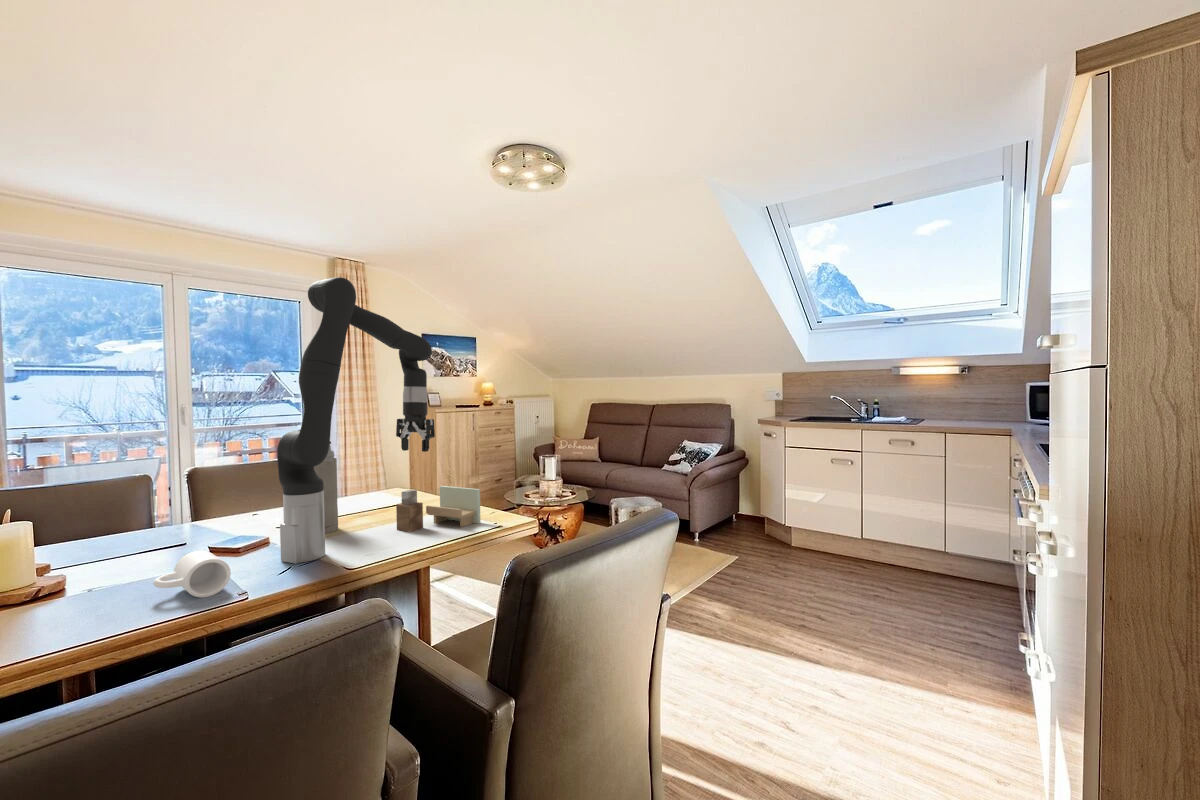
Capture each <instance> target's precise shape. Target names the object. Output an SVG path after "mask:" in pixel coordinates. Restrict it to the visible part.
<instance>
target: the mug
mask: <svg viewBox="0 0 1200 800" xmlns="http://www.w3.org/2000/svg"><path fill="white" fill-rule="evenodd" d="M231 573H232V572H231V568H230V566H229V564H228V563H227V562H226V561H224V560H223V559H221V558H219V556H216V554H214V553H211V552H210V551H207V550H195V551H194V550H193V551H192V552H189V553H187V554H185V555H184V556H182V557H181V558H180V559H179V560H178V561H177V563H176V564H175V566H174V569H173V571H172V572H169V573H165V574H163V575H160V576H159V577H156V578H155V579H154V580H153V586H154V587H155V588H158V589H169V588H177V587H181V588H183V589H184V590H185V591H186V592H187V593H188V594H189V595H191V596H192V597H195V598H209V597H212V596H215V595H217V594H218V593H220V592H221V591H222V590H224V589H225V588H226V586H227V585H228V584H229V581H230V579H231V575H232V574H231Z"/></svg>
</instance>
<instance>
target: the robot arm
mask: <svg viewBox="0 0 1200 800" xmlns="http://www.w3.org/2000/svg"><path fill="white" fill-rule="evenodd" d="M307 298H308V301H309V303H310V304H311V306H312V307H313V308H314V309H316V310H317V311H319V312H321V313H322V318H321V321H320V324H319V326H318V329H317V330H316V332H315V334H314V335H313V336H312V338H311V340H310V341H309V342H308V344H307V346H306V348H305V350H304V352H303V356H302V359H301V362H300V363H301V364H300V369H299V372H298V373H299V374H298V384H299V385H298V387H299V391H300V394H301V399H302V403H303V416H302V422H301V427H300V429H299V430H292V431H291V430H290V431H288V432H287V433H285V434H283V435H282V437H281V438H280V439H279V442H278V443H277V444H278V445H277V451H276V453H277V454H276V455H277V457H276V459H277V470H278V471H277V472H278V480H279V482H280V486H281V488H282V500H283V501H282V503H283V523H280V525H279V535H280V562H285V563H291V564H295V565H296V564H297V565H298V564H300V563H307V562H310V561H316V560H318V559H321V558H323V557H324V556H325V555H326V538H325V537H326V533H325V525H324V484H323V480H322V479H321V478H320V477H319V476H318V475H317V474H316V472H315V470H314V466H317V465H319V464H321V463H322V462H323V461H324V459H325V458H326V456H327V454H328V451H329V445H330V446H331V444H330V441H331V432H332V431H331V429H332V427H331V426H332V417H333V410H334V404H335V396H336V391H337V387H338V382H339V376H340V373H341V372H340V371H341V366H342V359H343V353H344V348H345V344H346V339H347V333H348V329H349V326H350V325H351V326H352V327H355V328H356V329H358V330H360V331H362V332H364V333H365V334H368V335H369V336H371V337H373V338H374V339H376V340H378V341H380V342H381V343H382V344H384V345H386V347H387V346H388V347H389V348H391V349H393V350H398V358H399V362H400V365H401V369H402V372H403V373H402V374H403V391H402V415H403V416H404V418H397V419H396V429H395V432H396V433H395V436H396V437H397V438H400V440H401V441H400V442H401V443H400V444H401V445H400V448H401V451H409V449H410V448H409V445H410V443H409V442H410V441H409V440H410V439H409V438H410V436H411V434H413V433H417V434H418V435H419V436H420V438H421V439H422V440H421V452H423V453H425V452H429V450H430V439H433V438H435V437H436V434H435V420H434V418H427V416H428V384H427V383H428V382H427V381H428V376H427V375H428V374H427V372H426V370H425V369H423V368H420V366H419V362H422V361H423V362H424V361H426V360H429V358H431V356H432V354H433V348H432V346H431V343H429V341H428V340H427V339H426V338H424V337H422V336H420V335H418V334H416V333H413V332H411V331H408V330H405V329H404V328H402V327H401V326H400V325H399V324H397V323H395V322H393V321H392V320H390V319H389V318H387V317H385V316H383V315H380V314H378V313H375V312H373V311H370V310H367V309H365V308H364V307H361V306H359V305H356V303H357V302H356V301H357V293H356V288H355V286H354V284H353V283H352V281H350V280H348V279H347V278H345V277H340V276H339V277H329V278H325V279H320V280H318V281H315V282H313V283H312V284H311V285H309V287H308V290H307Z"/></svg>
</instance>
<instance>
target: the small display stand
mask: <svg viewBox="0 0 1200 800" xmlns="http://www.w3.org/2000/svg"><path fill="white" fill-rule="evenodd" d="M480 490H481V489H480V488H472V487H471V488H470V487H459V486H450V485H449V486H448V485H447V486H446V485H440V486H439V506H438V505H437V506H435V505H425V513H426V514H427V515H428V516H433V524H439V523H442V522H445V521H453V520H455V521H454V522H459V527H460V526H461V527H466V526H468V525H471V524H481V491H480ZM447 519H448V520H447ZM444 520H445V521H444ZM441 521H442V522H441ZM438 522H439V523H438Z"/></svg>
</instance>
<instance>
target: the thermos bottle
mask: <svg viewBox="0 0 1200 800" xmlns="http://www.w3.org/2000/svg"><path fill="white" fill-rule="evenodd" d="M331 444H332V442H331V440H330V445H329V451H328V454H327V456H326V458H325V459H324V461H323V462H322V463H321V464H319V465H317V466H314V470H315V472H316V474H317V475H318V476H319V477H320V478H321V479H322V480H323V484H324V525H325V534H328V533H332V532H335V531H338V530H339V510H338V509H339V506H338V468H337V467H338V464H337V463H338V462H337V457H335V451H333V450H332V448H331V447H332V446H331Z"/></svg>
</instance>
